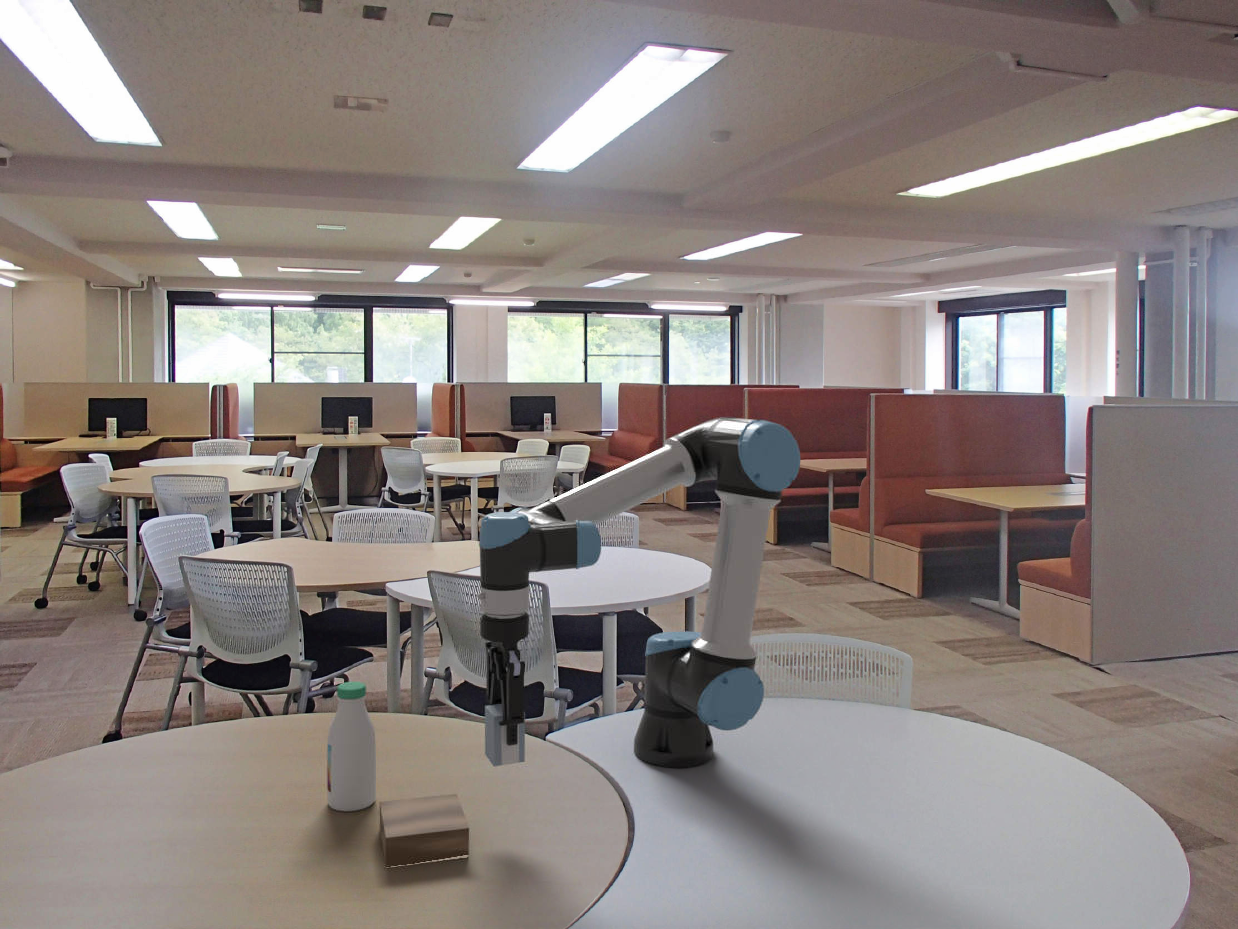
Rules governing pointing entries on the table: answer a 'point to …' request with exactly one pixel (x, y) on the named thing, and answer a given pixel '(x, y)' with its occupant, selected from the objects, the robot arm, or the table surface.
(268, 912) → the table surface
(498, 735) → the block
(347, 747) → the milk bottle
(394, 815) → the walnut box
